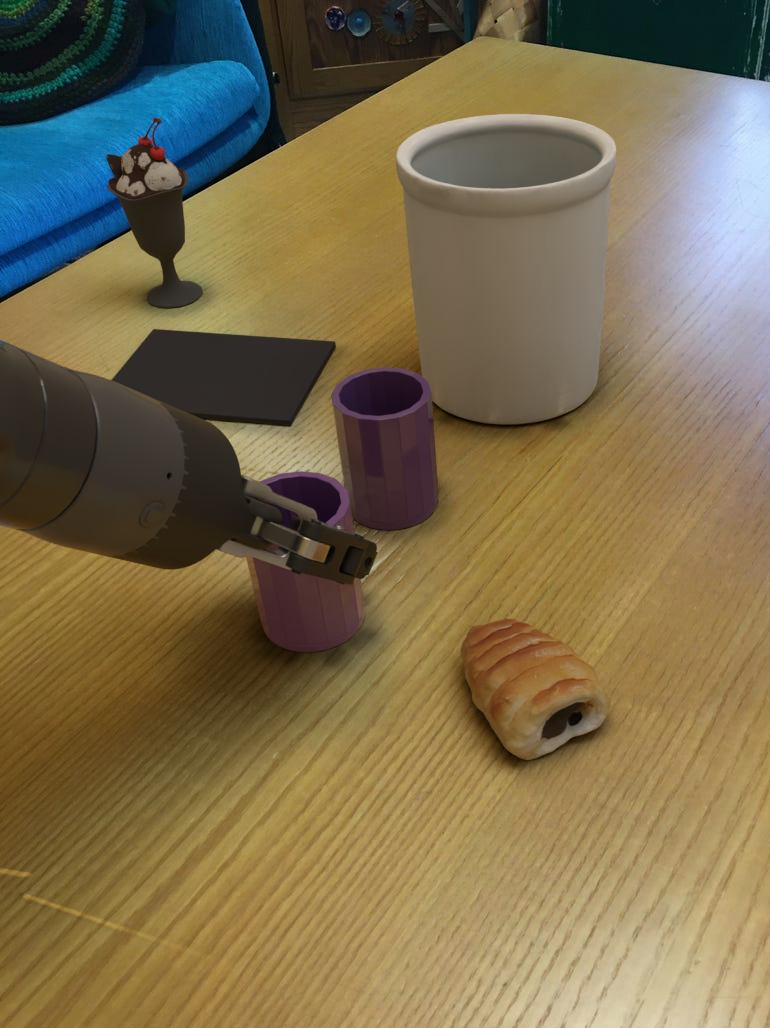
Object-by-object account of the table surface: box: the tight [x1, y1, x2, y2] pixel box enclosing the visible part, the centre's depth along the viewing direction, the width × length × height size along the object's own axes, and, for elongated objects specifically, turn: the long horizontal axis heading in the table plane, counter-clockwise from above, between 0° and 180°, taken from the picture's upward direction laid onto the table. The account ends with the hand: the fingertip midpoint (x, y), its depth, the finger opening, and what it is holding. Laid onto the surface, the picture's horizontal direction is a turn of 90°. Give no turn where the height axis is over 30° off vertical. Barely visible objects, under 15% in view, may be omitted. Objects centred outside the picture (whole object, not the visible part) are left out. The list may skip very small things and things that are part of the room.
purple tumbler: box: [330, 366, 439, 531], centre depth 72 cm, size 6×6×8 cm
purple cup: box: [245, 470, 366, 653], centre depth 64 cm, size 6×6×8 cm
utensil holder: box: [395, 113, 617, 425], centre depth 80 cm, size 15×15×18 cm
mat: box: [111, 328, 337, 427], centre depth 87 cm, size 16×12×1 cm
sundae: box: [105, 117, 203, 309], centre depth 93 cm, size 7×7×15 cm
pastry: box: [460, 618, 611, 761], centre depth 60 cm, size 9×7×4 cm
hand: (321, 539), depth 64 cm, fingers closed on purple cup, 6 cm apart
